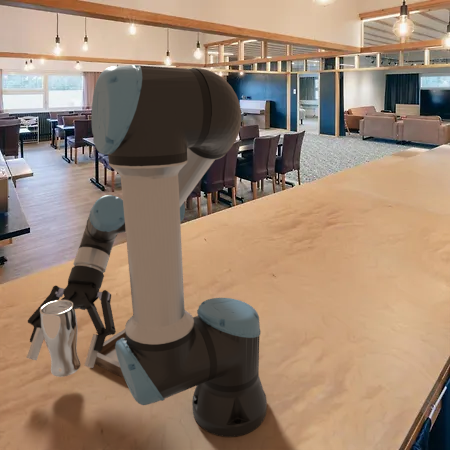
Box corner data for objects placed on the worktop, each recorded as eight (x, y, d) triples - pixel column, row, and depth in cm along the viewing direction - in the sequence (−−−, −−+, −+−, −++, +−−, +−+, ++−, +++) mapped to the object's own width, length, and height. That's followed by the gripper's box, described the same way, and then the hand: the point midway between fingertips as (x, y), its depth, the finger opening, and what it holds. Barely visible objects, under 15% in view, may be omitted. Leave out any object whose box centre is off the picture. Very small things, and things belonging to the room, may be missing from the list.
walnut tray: (203, 345, 102) (203, 336, 101) (150, 391, 85) (150, 381, 85) (146, 323, 112) (145, 315, 111) (89, 361, 96) (88, 352, 95)
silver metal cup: (71, 354, 91) (63, 296, 87) (89, 366, 87) (81, 305, 82) (42, 369, 86) (32, 308, 81) (59, 383, 82) (49, 319, 77)
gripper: (143, 279, 94) (120, 372, 85) (50, 271, 99) (18, 358, 90) (132, 268, 88) (106, 367, 78) (33, 260, 93) (-3, 352, 83)
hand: (59, 363), depth 84 cm, fingers open, 13 cm apart
